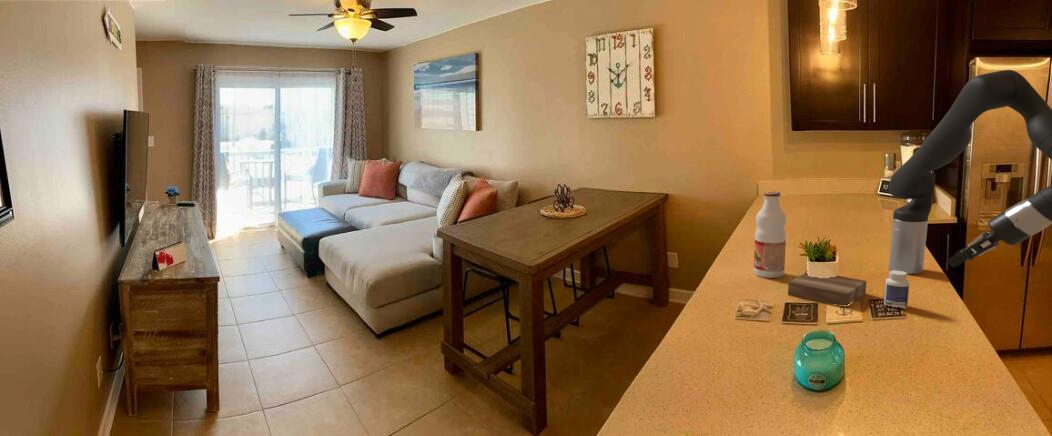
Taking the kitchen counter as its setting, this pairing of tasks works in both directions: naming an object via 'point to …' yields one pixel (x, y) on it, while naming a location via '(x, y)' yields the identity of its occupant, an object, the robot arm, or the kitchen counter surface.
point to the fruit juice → (770, 238)
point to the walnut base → (827, 289)
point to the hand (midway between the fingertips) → (954, 260)
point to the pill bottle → (896, 289)
